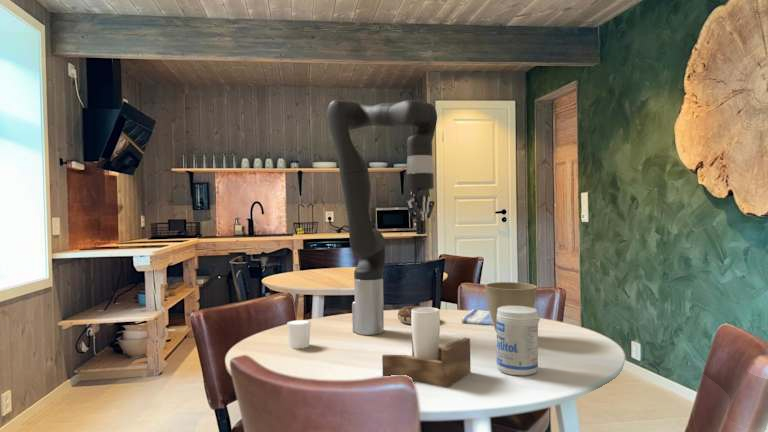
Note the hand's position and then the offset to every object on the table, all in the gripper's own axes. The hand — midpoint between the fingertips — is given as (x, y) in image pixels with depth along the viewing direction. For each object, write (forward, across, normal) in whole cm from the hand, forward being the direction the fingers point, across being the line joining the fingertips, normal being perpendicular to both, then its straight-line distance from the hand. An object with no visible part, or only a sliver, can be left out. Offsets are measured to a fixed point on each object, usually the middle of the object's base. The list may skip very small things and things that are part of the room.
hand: (421, 234), depth 138 cm
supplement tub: (+32, +6, +29) cm, 44 cm away
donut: (+32, -29, -18) cm, 47 cm away
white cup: (+32, +16, -32) cm, 48 cm away
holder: (+32, +19, +12) cm, 39 cm away
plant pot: (+32, -22, +18) cm, 43 cm away
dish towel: (+33, -44, +6) cm, 55 cm away
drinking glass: (+32, +19, +11) cm, 39 cm away
